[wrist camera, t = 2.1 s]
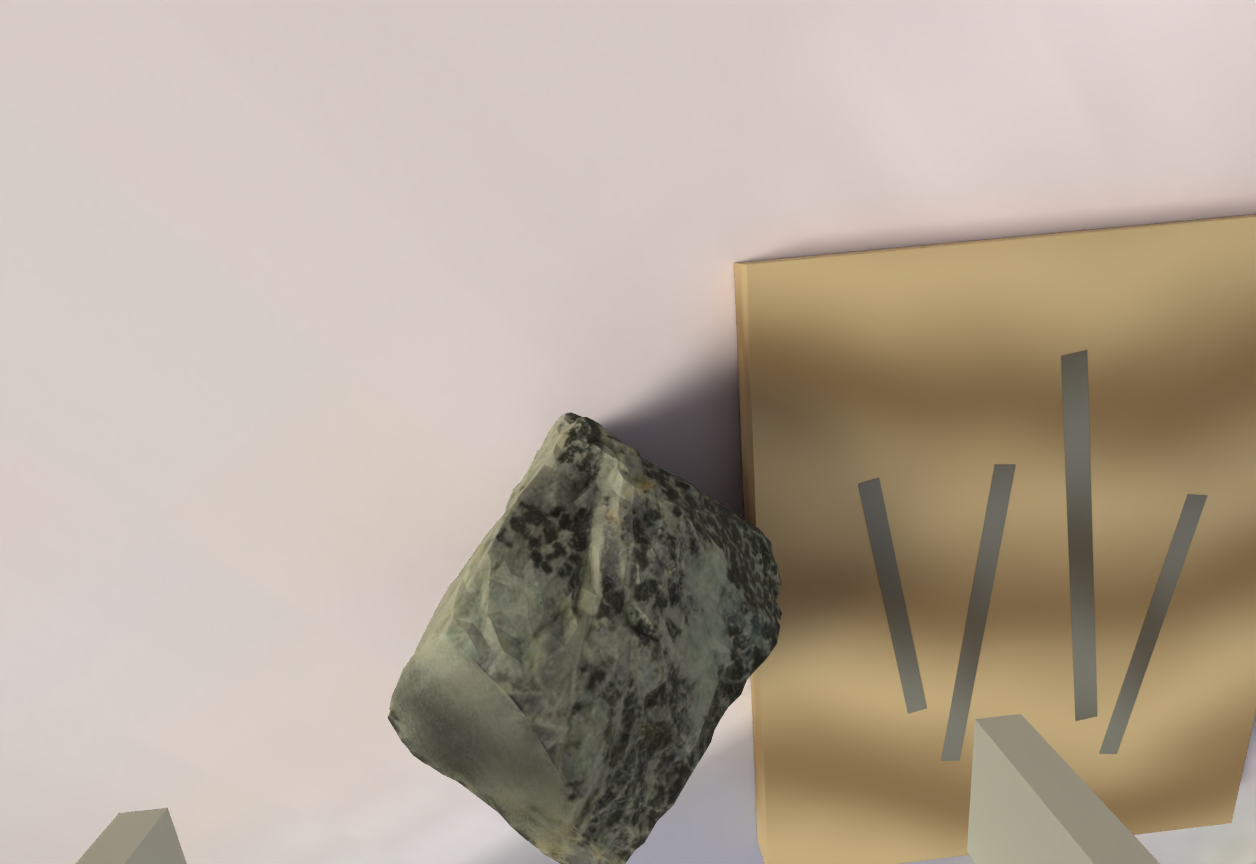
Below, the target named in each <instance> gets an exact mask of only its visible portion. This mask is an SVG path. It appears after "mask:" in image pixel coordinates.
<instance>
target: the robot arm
mask: <svg viewBox="0 0 1256 864" xmlns="http://www.w3.org/2000/svg"><path fill="white" fill-rule="evenodd" d="M967 853H968V854H969V856H970V857H971V859H972V861H973V862H974V864H1160V863H1159V862H1158V861H1157V860H1156V859H1155V858H1154V857H1153V856H1152V854H1151V853H1150V852H1149V851H1148V850H1147V849H1146V848H1145V847H1144V846H1143V845H1142V844H1141V843H1140V842H1139V840H1138V839H1137V838H1136V837H1135V836H1134V835H1133V834H1132V833H1131V832H1130V831H1129V830H1128V829H1127V828H1126V827H1125V825H1124V824H1123V823H1122V822H1121V821H1120V820H1119V819H1118V818H1117V817H1116V816H1115V815H1114V814H1113V813H1112V811H1111V810H1110V809H1109V808H1108V807H1107V806H1106V805H1105V804H1104V803H1103V802H1102V801H1101V800H1100V799H1099V797H1098V796H1097V795H1096V794H1095V793H1094V792H1093V791H1092V790H1091V789H1090V788H1089V787H1088V786H1087V785H1086V783H1085V782H1084V781H1083V780H1082V779H1081V778H1080V777H1079V776H1078V775H1077V774H1076V773H1075V772H1074V771H1073V770H1072V768H1071V767H1070V766H1069V765H1068V764H1067V763H1066V762H1065V761H1064V760H1063V759H1062V758H1061V757H1060V756H1059V754H1058V753H1057V752H1056V751H1055V750H1054V749H1053V748H1052V747H1051V746H1050V745H1049V744H1048V743H1047V742H1046V740H1045V739H1044V738H1043V737H1042V736H1041V735H1040V734H1039V733H1038V732H1037V731H1036V730H1035V729H1034V728H1033V726H1032V725H1031V724H1030V723H1029V722H1028V721H1027V720H1026V719H1025V718H1024V717H1023V716H1022V715H1021V714H1016V715H1007V716H998V717H989V718H980V719H975V729H974V745H973V761H972V778H971V794H970V810H969V827H968V843H967ZM76 864H187V863H186V860H185V857H184V855H183V852H182V849H181V846H180V843H179V840H178V837H177V834H176V831H175V828H174V825H173V822H172V819H171V816H170V814H169V811H168V808H162V809H153V810H144V811H135V812H126V813H119V814H118V815H117V816H116V817H115V819H114V820H113V821H112V822H111V823H110V824H109V826H108V827H107V828H106V829H105V830H104V831H103V832H102V834H101V835H100V836H99V837H98V838H97V839H96V841H95V842H94V843H93V844H92V845H91V846H90V848H89V849H88V850H87V851H86V852H85V853H84V855H83V856H82V857H81V858H80V859H79V860H78V862H77V863H76Z"/></svg>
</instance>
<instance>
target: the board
mask: <svg viewBox="0 0 1256 864" xmlns="http://www.w3.org/2000/svg"><path fill="white" fill-rule="evenodd" d="M734 277H735V301H736V325H737V350H738V374H739V398H740V422H741V447H742V471H743V495H744V519H745V521H746V522H748V523H750V524H752V525H754V526H755V527H757V528H759V529H760V530H761V531H762V532H763V533H764V535H765V537H766V538H768V539H769V540H771V544H772V550H773V555H774V559H775V562H776V563H777V566H778V570H779V574H780V579H781V590H780V593H779V595H778V597H777V600H776V602H777V604H778V606H779V608H780V610H781V612H782V616H781V619H780V623H779V624H780V631H779V636H778V641H777V645H776V646H775V648H774V649H773V650H772V652H771V653H770V655H769V656H768V658H767V659H766V660H765V661H764V662H763V663H762V664H761V665H760V666H759V667H758V668H757V670H756V671H755V672H754V673H753V674H752V675H751V689H752V713H753V738H754V762H755V786H756V810H757V835H758V842H759V846H760V850H761V853H762V857H763V860H764V864H897V863H905V862H913V861H922V860H930V859H938V858H946V857H955V856H963V855H969V854H968V853H967V843H968V827H969V810H970V794H971V778H972V761H973V745H974V729H975V719H980V718H989V717H998V716H1007V715H1016V714H1021V715H1022V716H1023V717H1024V718H1025V719H1026V720H1027V721H1028V722H1029V723H1030V724H1031V725H1032V726H1033V728H1034V729H1035V730H1036V731H1037V732H1038V733H1039V734H1040V735H1041V736H1042V737H1043V738H1044V739H1045V740H1046V742H1047V743H1048V744H1049V745H1050V746H1051V747H1052V748H1053V749H1054V750H1055V751H1056V752H1057V753H1058V754H1059V756H1060V757H1061V758H1062V759H1063V760H1064V761H1065V762H1066V763H1067V764H1068V765H1069V766H1070V767H1071V768H1072V770H1073V771H1074V772H1075V773H1076V774H1077V775H1078V776H1079V777H1080V778H1081V779H1082V780H1083V781H1084V782H1085V783H1086V785H1087V786H1088V787H1089V788H1090V789H1091V790H1092V791H1093V792H1094V793H1095V794H1096V795H1097V796H1098V797H1099V799H1100V800H1101V801H1102V802H1103V803H1104V804H1105V805H1106V806H1107V807H1108V808H1109V809H1110V810H1111V811H1112V813H1113V814H1114V815H1115V816H1116V817H1117V818H1118V819H1119V820H1120V821H1121V822H1122V823H1123V824H1124V825H1125V827H1126V828H1127V829H1128V830H1129V831H1130V832H1131V833H1132V834H1133V835H1136V834H1144V833H1152V832H1161V831H1169V830H1177V829H1185V828H1194V827H1202V826H1210V825H1218V824H1227V823H1232V818H1233V813H1234V809H1235V804H1236V800H1237V795H1238V791H1239V786H1240V781H1241V777H1242V772H1243V768H1244V763H1245V758H1246V754H1247V749H1248V745H1249V740H1250V736H1251V731H1252V726H1253V722H1254V717H1255V713H1256V214H1254V215H1243V216H1232V217H1221V218H1211V219H1200V220H1189V221H1179V222H1168V223H1157V224H1147V225H1136V226H1125V227H1114V228H1104V229H1093V230H1082V231H1072V232H1061V233H1050V234H1040V235H1029V236H1018V237H1008V238H997V239H986V240H975V241H965V242H954V243H943V244H933V245H922V246H911V247H901V248H890V249H879V250H868V251H858V252H847V253H836V254H826V255H815V256H804V257H794V258H783V259H772V260H761V261H751V262H740V263H734Z"/></svg>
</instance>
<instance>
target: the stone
mask: <svg viewBox="0 0 1256 864" xmlns="http://www.w3.org/2000/svg"><path fill="white" fill-rule="evenodd" d="M780 590H781V579H780V574H779V570H778V566H777V563H776V562H775V559H774V555H773V550H772V544H771V540H769V539H768V538H766V537H765V535H764V533H763V532H762V531H761V530H760V529H759V528H757V527H755V526H754V525H752V524H750V523H748V522H746V521H744V520H741V519H740V518H739V517H738V516H737V515H736V514H735V513H734V512H733V511H732V510H731V509H729V508H728V507H727V506H725V505H724V504H721V503H718V502H717V501H715V500H714V499H713V498H711V497H708V496H706V495H703V494H702V493H701V492H700V491H699V490H698V489H697V488H696V487H695V486H693V485H692V484H690V483H688V482H687V481H685V480H683V479H681V478H679V477H676V476H673V475H671V474H668V473H667V472H665V471H663V470H662V469H660V468H658V467H656V466H655V465H653V464H651V463H650V462H648V461H646V460H644V459H643V458H641V457H640V455H639V453H638V450H636V449H634V448H632V447H629V446H627V445H625V444H623V443H622V442H620V441H619V440H617V439H616V438H615V437H613V436H612V435H610V434H609V433H608V432H607V431H606V430H605V429H604V427H603V426H602V425H600V424H599V423H597V422H595V421H594V420H591V419H589V418H588V417H581V416H578V415H576V414H573V413H566V414H564V415H562V416H561V417H560V418H559V420H558V421H556V423H555V424H554V426H553V427H552V428H551V430H550V431H549V433H548V435H547V437H546V439H545V441H544V443H543V445H542V447H541V448H540V450H539V451H538V452H537V454H536V456H535V458H534V461H533V463H532V464H531V466H530V468H529V470H528V472H527V473H526V475H525V476H524V478H523V479H522V481H521V482H520V483H519V484H518V485H517V486H516V487H515V488H514V489H513V491H512V493H511V496H510V499H509V501H508V504H507V506H506V512H505V513H504V515H503V516H502V517H501V518H500V519H499V521H498V522H497V523H496V524H495V525H494V526H493V528H492V529H491V530H490V531H489V533H488V534H487V535H486V536H485V538H484V539H483V541H482V542H481V544H480V545H479V546H478V548H477V549H476V551H475V552H474V554H473V555H472V556H471V558H470V559H469V561H468V562H467V564H466V565H465V567H464V568H463V569H462V571H461V572H460V574H459V575H458V577H457V578H456V580H455V581H454V582H453V583H452V584H451V585H450V586H449V588H448V590H447V591H446V593H445V595H444V596H443V598H442V600H441V602H440V604H439V605H438V607H437V609H436V611H435V613H434V615H433V617H432V618H431V620H430V622H429V624H428V626H427V628H426V630H425V632H424V634H423V637H422V639H421V641H420V643H419V645H418V647H417V649H416V651H415V654H414V655H413V656H412V658H411V659H410V661H409V662H408V663H407V665H406V666H405V667H404V669H403V671H402V674H401V676H400V679H399V681H398V684H397V686H396V688H395V690H394V693H393V695H392V699H391V704H390V708H389V709H390V713H389V716H388V719H389V721H390V722H391V724H392V726H393V727H394V729H395V731H396V732H397V734H398V736H399V738H400V739H401V741H402V742H403V743H404V744H405V745H406V747H407V748H408V749H409V750H410V752H411V753H412V754H413V755H414V756H415V757H416V758H418V759H419V760H420V761H422V762H423V763H425V764H427V765H429V766H431V767H432V768H434V769H435V770H437V771H438V772H440V773H441V774H443V775H445V776H447V777H449V778H451V779H453V780H455V781H457V782H459V783H460V784H462V785H463V786H464V787H466V788H467V789H468V790H470V791H471V792H472V793H474V794H475V795H476V796H477V797H479V798H480V799H481V800H483V801H484V802H485V803H487V804H488V805H489V806H491V807H492V808H493V809H494V810H496V811H497V812H498V813H500V814H501V816H502V817H503V818H504V819H505V820H506V821H507V822H508V824H509V825H510V826H511V827H512V828H513V829H515V830H516V831H517V832H518V833H519V834H520V835H521V836H522V837H524V838H525V839H526V840H528V841H529V842H530V843H532V844H533V845H534V846H536V847H537V848H538V849H540V851H541V852H542V854H544V855H546V856H548V857H550V858H552V859H554V860H555V861H557V862H559V863H560V864H625V863H626V862H627V861H628V859H629V858H630V856H631V855H632V854H633V852H634V851H635V850H636V849H637V848H638V847H640V846H641V845H642V844H643V843H644V842H645V841H646V839H647V837H648V836H649V834H650V832H651V830H652V829H653V827H654V825H655V824H656V822H657V821H658V820H659V819H660V818H661V817H662V816H663V815H664V814H665V813H666V812H667V811H668V810H669V809H670V808H671V807H672V806H673V804H674V803H675V801H676V799H677V798H678V796H679V794H680V792H681V791H682V789H683V787H684V786H685V784H686V782H687V780H688V779H689V777H690V775H691V774H692V772H693V770H694V769H695V767H696V766H697V764H698V762H699V761H700V759H701V758H702V756H703V754H704V753H705V751H706V750H707V748H708V746H709V744H710V743H711V740H712V736H713V733H714V730H715V728H716V726H717V724H718V722H719V721H720V719H721V718H722V716H723V714H724V713H725V711H726V710H727V708H728V707H729V706H730V705H731V704H732V703H733V702H734V701H735V700H736V699H737V698H738V697H739V696H740V695H741V693H742V691H743V688H744V686H745V683H746V681H747V679H748V678H749V677H750V676H751V675H752V674H753V673H754V672H755V671H756V670H757V668H758V667H759V666H760V665H761V664H762V663H763V662H764V661H765V660H766V659H767V658H768V656H769V655H770V653H771V652H772V650H773V649H774V648H775V646H776V645H777V641H778V636H779V631H780V624H779V623H780V619H781V616H782V612H781V610H780V608H779V606H778V604H777V602H776V600H777V597H778V595H779V593H780Z"/></svg>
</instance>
